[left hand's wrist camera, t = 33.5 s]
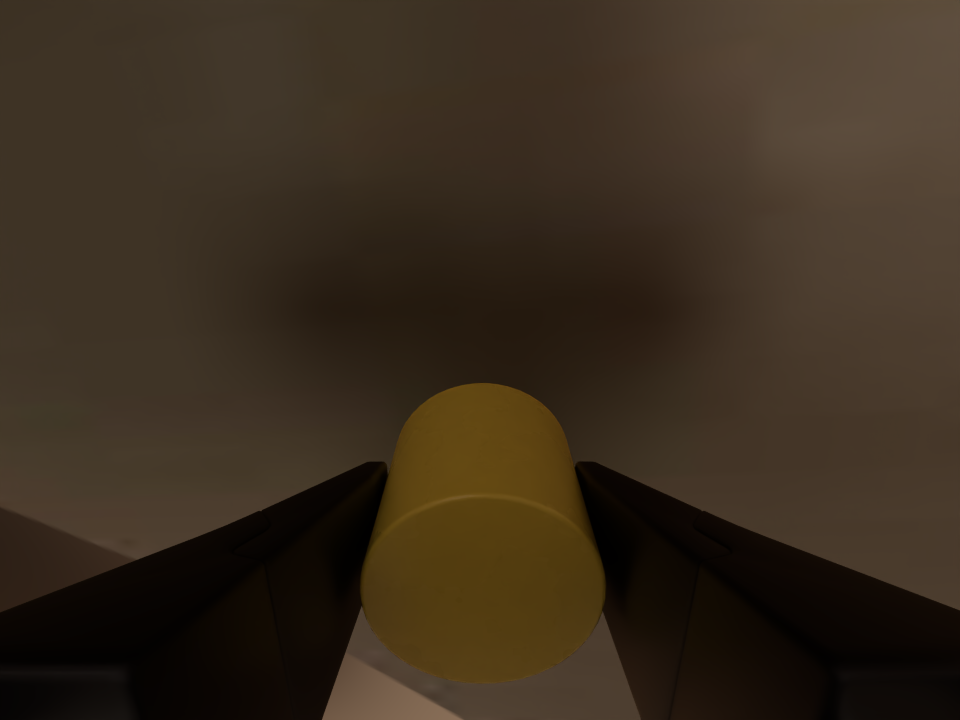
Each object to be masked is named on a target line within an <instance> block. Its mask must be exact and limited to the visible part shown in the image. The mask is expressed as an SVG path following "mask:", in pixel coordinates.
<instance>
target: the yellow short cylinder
mask: <svg viewBox="0 0 960 720" xmlns="http://www.w3.org/2000/svg"><path fill="white" fill-rule="evenodd" d="M360 597H361V603H362V607H363V610H364V613H365V616H366V619H367V621H368V623H369V625H370V627H371V629H372V631H373V632H374V633H375V635H376V636H377V637H378V639H379V640H380V641H381V642H382V643H383V644H384V646H385V647H386V648H387V649H388V650H389V651H391V652H392V653H393V654H394V655H396V656H397V657H398V658H399V659H401V660H402V661H404V662H406V663H407V664H409V665H410V666H412V667H414V668H416V669H418V670H421V671H423V672H425V673H428V674H430V675H433V676H436V677H439V678H443V679H447V680H451V681H458V682H464V683H477V684H486V683H501V682H509V681H514V680H518V679H523V678H526V677H529V676H533V675H536V674H538V673H541V672H543V671H545V670H547V669H550V668H552V667H553V666H555V665H557V664H559V663H560V662H562V661H563V660H565V659H566V658H568V657H569V656H570V655H572V654H573V653H574V652H575V651H576V650H577V649H578V648H579V647H580V646H582V645H583V643H584V642H585V641H586V640H587V639H588V637H589V636H590V635H591V633H592V632H593V630H594V628H595V627H596V625H597V623H598V621H599V619H600V616H601V614H602V611H603V607H604V602H605V598H606V576H605V570H604V567H603V563H602V560H601V556H600V553H599V549H598V546H597V543H596V539H595V536H594V532H593V529H592V526H591V522H590V519H589V515H588V512H587V508H586V505H585V502H584V498H583V495H582V491H581V488H580V485H579V481H578V478H577V474H576V471H575V468H574V464H573V461H572V457H571V454H570V451H569V447H568V444H567V440H566V437H565V434H564V432H563V430H562V427H561V425H560V424H559V422H558V421H557V419H556V418H555V416H554V415H553V414H552V413H551V412H550V411H549V410H548V409H547V408H546V407H545V406H544V405H543V404H542V403H541V402H539V401H538V400H536V399H535V398H533V397H532V396H530V395H528V394H526V393H524V392H522V391H520V390H517V389H514V388H511V387H508V386H503V385H499V384H490V383H473V384H466V385H461V386H457V387H454V388H450V389H448V390H445V391H443V392H440V393H438V394H437V395H435V396H433V397H431V398H430V399H428V400H427V401H426V402H424V403H423V404H422V405H420V406H419V407H418V408H417V409H416V410H415V411H414V412H413V413H412V415H411V416H410V417H409V419H408V420H407V421H406V423H405V425H404V427H403V429H402V431H401V433H400V436H399V439H398V442H397V445H396V449H395V452H394V456H393V459H392V463H391V467H390V470H389V474H388V477H387V481H386V484H385V488H384V491H383V495H382V498H381V502H380V506H379V509H378V513H377V516H376V520H375V523H374V527H373V530H372V534H371V538H370V541H369V545H368V548H367V552H366V555H365V559H364V562H363V566H362V571H361V576H360Z"/></svg>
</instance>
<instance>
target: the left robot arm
mask: <svg viewBox="0 0 960 720" xmlns="http://www.w3.org/2000/svg"><path fill="white" fill-rule="evenodd" d="M575 471H576V474H577V478H578V481H579V485H580V488H581V491H582V495H583V498H584V502H585V505H586V508H587V512H588V515H589V519H590V522H591V526H592V529H593V532H594V536H595V539H596V543H597V546H598V549H599V553H600V556H601V560H602V563H603V567H604V570H605V576H606V598H605V602H604V607H603V613H604V616H605V619H606V621H607V624H608V627H609V630H610V633H611V636H612V638H613V641H614V644H615V647H616V650H617V653H618V655H619V658H620V661H621V664H622V667H623V670H624V672H625V675H626V678H627V681H628V684H629V686H630V689H631V692H632V695H633V698H634V701H635V703H636V706H637V709H638V712H639V715H640V718H641V720H960V610H957V609H955V608H952V607H949V606H947V605H944V604H941V603H939V602H936V601H934V600H931V599H928V598H926V597H923V596H920V595H918V594H915V593H912V592H910V591H907V590H905V589H902V588H899V587H897V586H894V585H891V584H889V583H886V582H884V581H881V580H878V579H876V578H873V577H870V576H868V575H865V574H863V573H860V572H857V571H855V570H852V569H849V568H847V567H844V566H842V565H839V564H836V563H834V562H831V561H828V560H826V559H823V558H821V557H818V556H815V555H813V554H810V553H807V552H805V551H802V550H800V549H797V548H794V547H792V546H789V545H786V544H784V543H781V542H779V541H776V540H773V539H771V538H768V537H765V536H763V535H760V534H758V533H755V532H753V531H750V530H748V529H745V528H743V527H740V526H738V525H735V524H733V523H731V522H728V521H726V520H724V519H721V518H719V517H717V516H715V515H712V514H710V513H708V512H706V511H701V510H700V509H698V508H695V507H693V506H691V505H689V504H686V503H684V502H682V501H680V500H678V499H675V498H673V497H671V496H669V495H667V494H664V493H662V492H660V491H658V490H656V489H653V488H651V487H649V486H647V485H644V484H642V483H640V482H638V481H636V480H633V479H631V478H629V477H627V476H625V475H622V474H620V473H618V472H616V471H614V470H611V469H609V468H607V467H605V466H602V465H600V464H598V463H596V462H577V463H576V465H575ZM387 477H388V472H387V465H386V463H385V462H366V463H364V464H362V465H360V466H358V467H355V468H353V469H351V470H349V471H347V472H344V473H342V474H340V475H338V476H336V477H333V478H331V479H329V480H327V481H325V482H323V483H320V484H318V485H316V486H314V487H312V488H309V489H307V490H305V491H303V492H301V493H298V494H296V495H294V496H292V497H290V498H287V499H285V500H283V501H281V502H279V503H277V504H274V505H272V506H270V507H268V508H266V509H263V510H262V511H257V512H255V513H253V514H251V515H249V516H246V517H244V518H242V519H240V520H237V521H235V522H233V523H230V524H228V525H226V526H223V527H221V528H218V529H216V530H213V531H211V532H208V533H206V534H203V535H201V536H198V537H196V538H193V539H190V540H188V541H185V542H183V543H180V544H177V545H175V546H172V547H170V548H167V549H164V550H162V551H159V552H156V553H154V554H151V555H149V556H146V557H143V558H141V559H138V560H136V561H133V562H131V563H128V564H125V565H123V566H120V567H117V568H115V569H112V570H110V571H107V572H104V573H102V574H99V575H97V576H94V577H91V578H89V579H86V580H84V581H81V582H78V583H76V584H73V585H70V586H68V587H65V588H63V589H60V590H57V591H55V592H52V593H50V594H47V595H44V596H42V597H39V598H36V599H34V600H31V601H29V602H26V603H23V604H21V605H18V606H16V607H13V608H11V609H8V610H5V611H3V612H0V720H322V718H323V715H324V712H325V709H326V706H327V703H328V700H329V698H330V695H331V692H332V689H333V686H334V683H335V681H336V678H337V675H338V672H339V669H340V666H341V663H342V660H343V658H344V655H345V652H346V649H347V646H348V643H349V640H350V638H351V635H352V632H353V629H354V626H355V623H356V620H357V618H358V615H359V612H360V609H361V606H362V603H361V597H360V576H361V571H362V566H363V562H364V559H365V555H366V552H367V548H368V545H369V541H370V538H371V534H372V530H373V527H374V523H375V520H376V516H377V513H378V509H379V506H380V502H381V498H382V495H383V491H384V488H385V484H386V481H387Z"/></svg>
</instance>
